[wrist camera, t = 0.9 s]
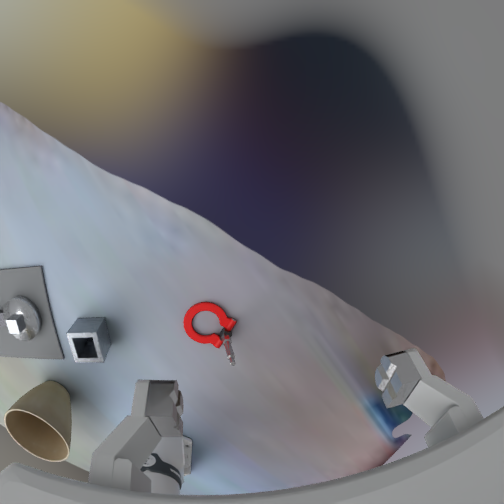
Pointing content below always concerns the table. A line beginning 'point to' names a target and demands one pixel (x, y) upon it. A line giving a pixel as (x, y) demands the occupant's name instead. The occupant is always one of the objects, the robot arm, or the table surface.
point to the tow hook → (213, 338)
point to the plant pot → (42, 421)
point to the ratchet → (21, 318)
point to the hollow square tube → (89, 349)
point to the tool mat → (33, 287)
